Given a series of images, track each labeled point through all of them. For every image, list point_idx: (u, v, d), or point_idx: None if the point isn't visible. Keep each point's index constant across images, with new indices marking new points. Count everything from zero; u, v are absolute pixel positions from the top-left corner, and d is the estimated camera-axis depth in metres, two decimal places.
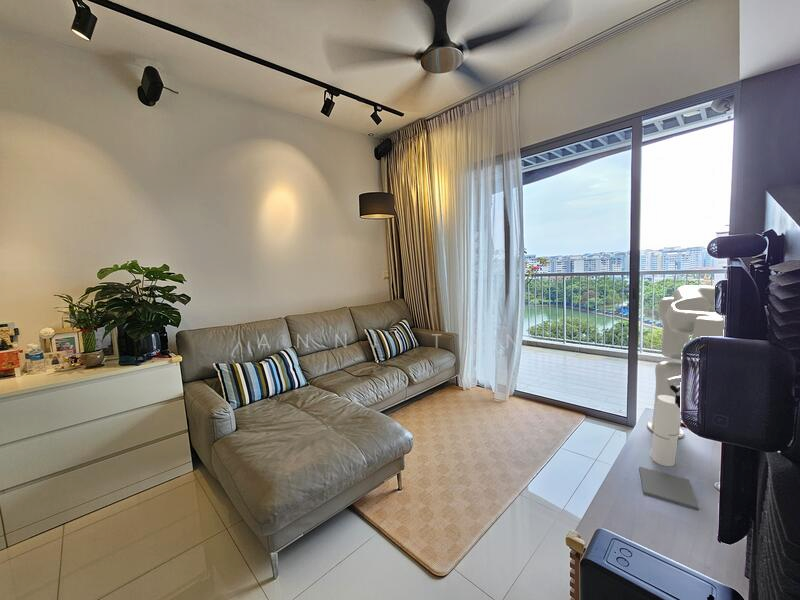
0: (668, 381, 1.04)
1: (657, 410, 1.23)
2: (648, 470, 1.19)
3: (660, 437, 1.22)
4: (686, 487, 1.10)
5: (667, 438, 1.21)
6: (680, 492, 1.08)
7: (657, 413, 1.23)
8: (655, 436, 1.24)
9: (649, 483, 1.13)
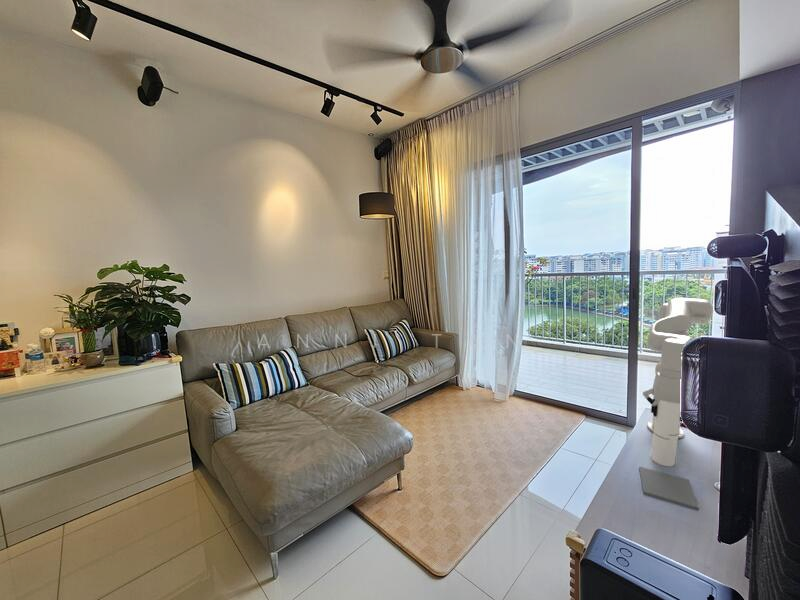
0: (644, 394, 1.25)
1: (657, 410, 1.23)
2: (648, 470, 1.19)
3: (660, 437, 1.22)
4: (686, 487, 1.10)
5: (667, 438, 1.20)
6: (680, 492, 1.08)
7: (657, 413, 1.23)
8: (655, 436, 1.24)
9: (649, 483, 1.13)
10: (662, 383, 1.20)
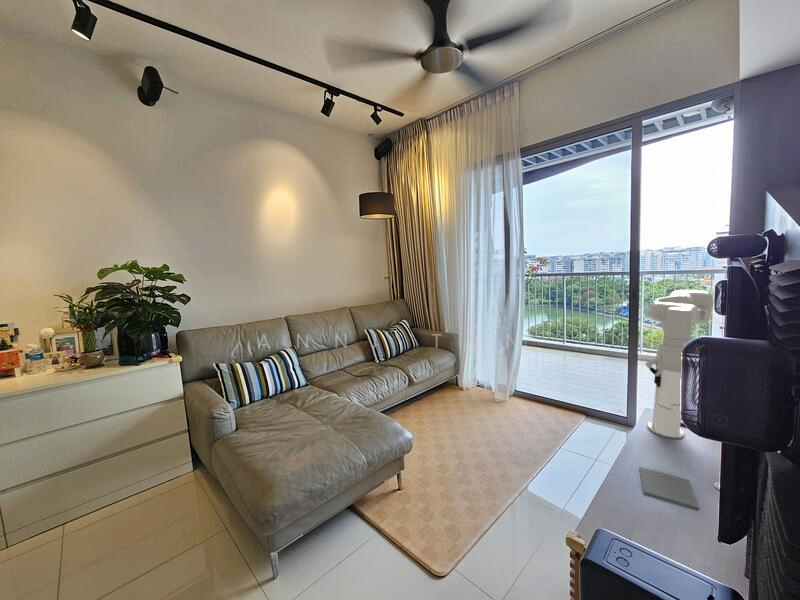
0: (647, 365, 1.23)
1: (660, 380, 1.21)
2: (648, 470, 1.19)
3: (663, 407, 1.21)
4: (686, 487, 1.10)
5: (671, 408, 1.19)
6: (680, 492, 1.08)
7: (660, 383, 1.21)
8: (658, 407, 1.22)
9: (649, 483, 1.13)
10: (666, 352, 1.18)
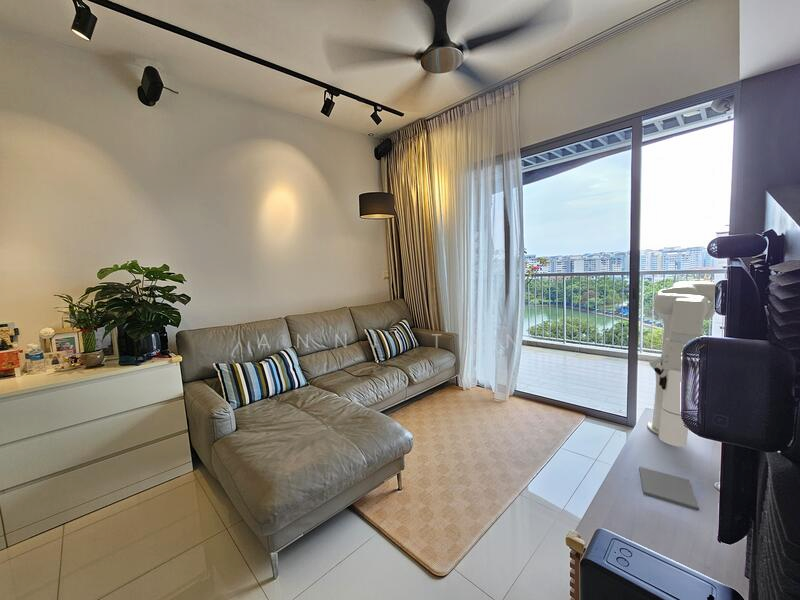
0: (651, 364, 1.08)
1: (666, 382, 1.06)
2: (648, 470, 1.19)
3: (670, 413, 1.05)
4: (686, 487, 1.10)
5: (678, 414, 1.04)
6: (680, 492, 1.08)
7: (666, 385, 1.06)
8: (664, 412, 1.07)
9: (649, 483, 1.13)
10: (673, 350, 1.03)
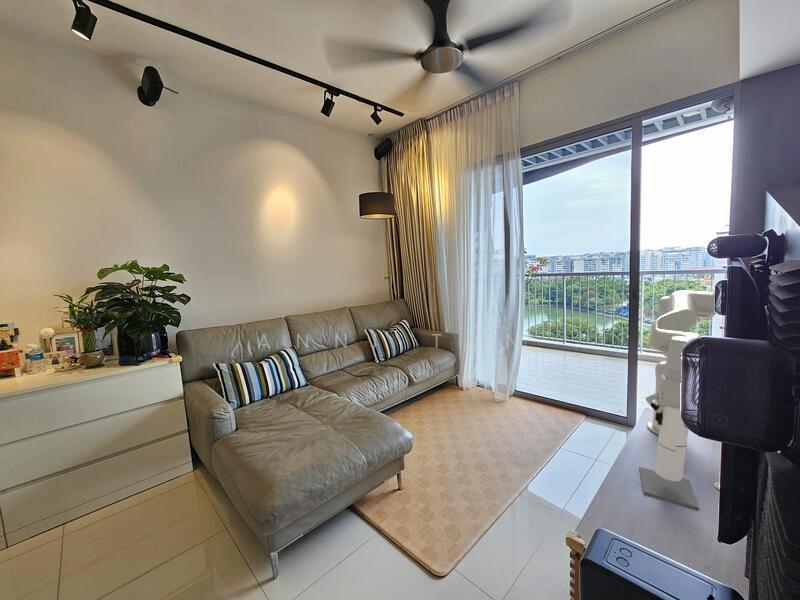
0: (647, 400, 1.10)
1: (662, 418, 1.08)
2: (648, 470, 1.19)
3: (666, 448, 1.07)
4: (686, 487, 1.10)
5: (674, 450, 1.06)
6: (680, 492, 1.08)
7: (662, 421, 1.08)
8: (660, 447, 1.09)
9: (649, 483, 1.13)
10: (668, 387, 1.05)
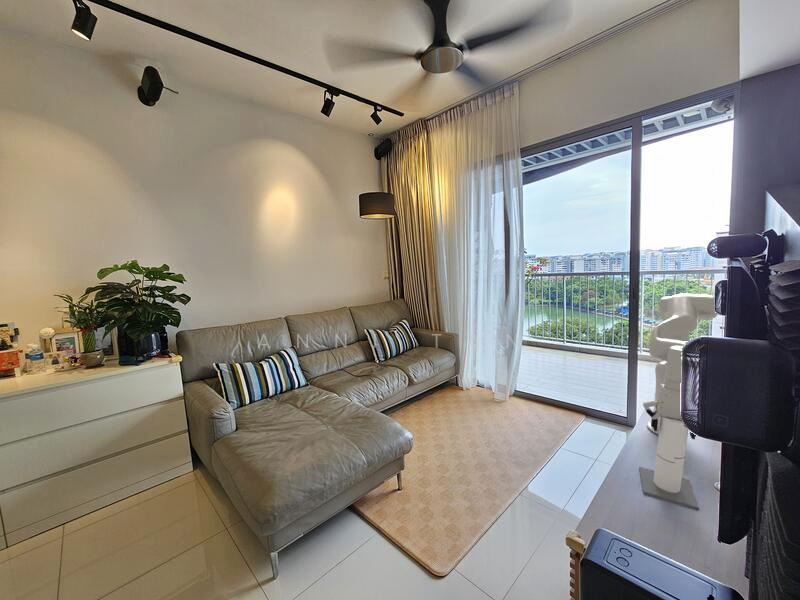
0: (644, 405, 1.11)
1: (661, 429, 1.09)
2: (648, 470, 1.19)
3: (664, 460, 1.08)
4: (686, 487, 1.10)
5: (672, 461, 1.07)
6: (680, 492, 1.08)
7: (661, 433, 1.09)
8: (658, 458, 1.10)
9: (649, 483, 1.13)
10: (667, 396, 1.06)
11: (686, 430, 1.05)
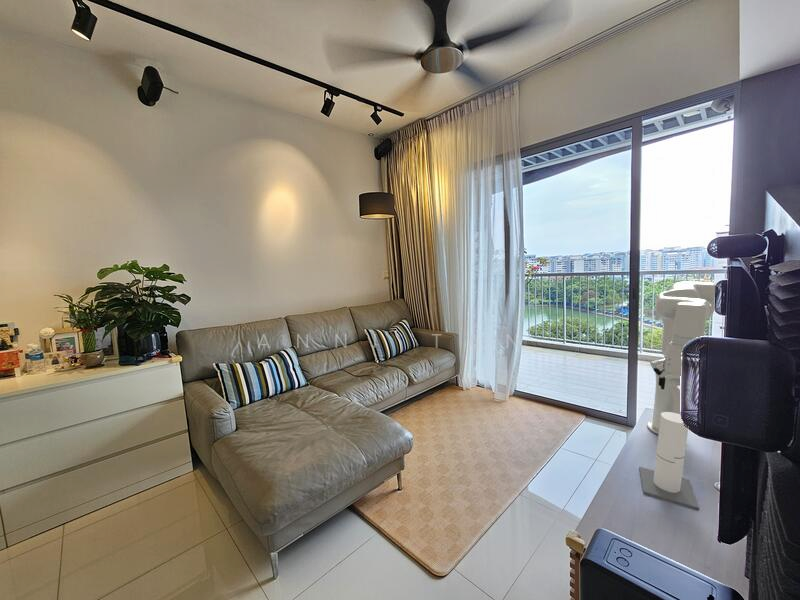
0: (652, 364, 1.10)
1: (661, 429, 1.09)
2: (648, 470, 1.19)
3: (664, 460, 1.08)
4: (686, 487, 1.10)
5: (672, 461, 1.07)
6: (680, 492, 1.08)
7: (661, 433, 1.09)
8: (658, 458, 1.10)
9: (649, 483, 1.13)
10: (675, 353, 1.04)
11: (686, 430, 1.05)
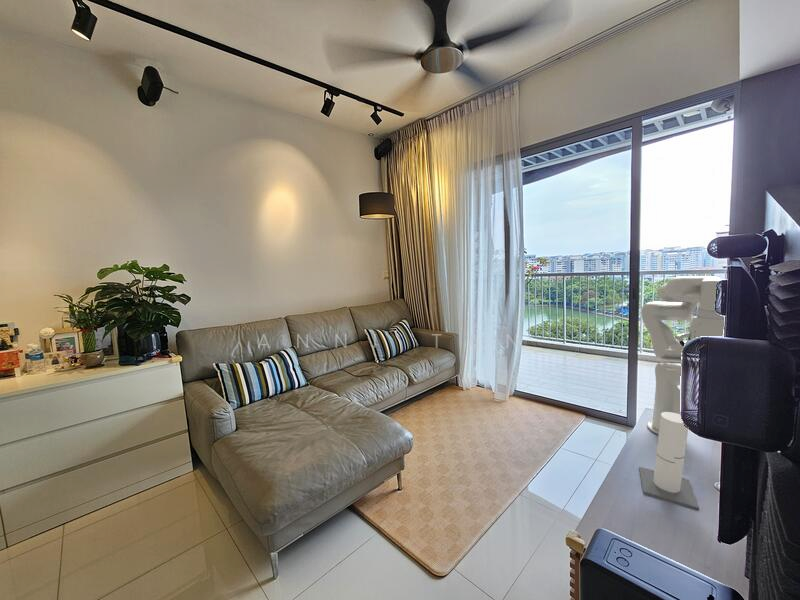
0: (678, 337, 1.19)
1: (661, 429, 1.09)
2: (648, 470, 1.19)
3: (664, 460, 1.08)
4: (686, 487, 1.10)
5: (672, 461, 1.07)
6: (680, 492, 1.08)
7: (661, 433, 1.09)
8: (658, 458, 1.10)
9: (649, 483, 1.13)
10: (700, 325, 1.14)
11: (686, 430, 1.05)
